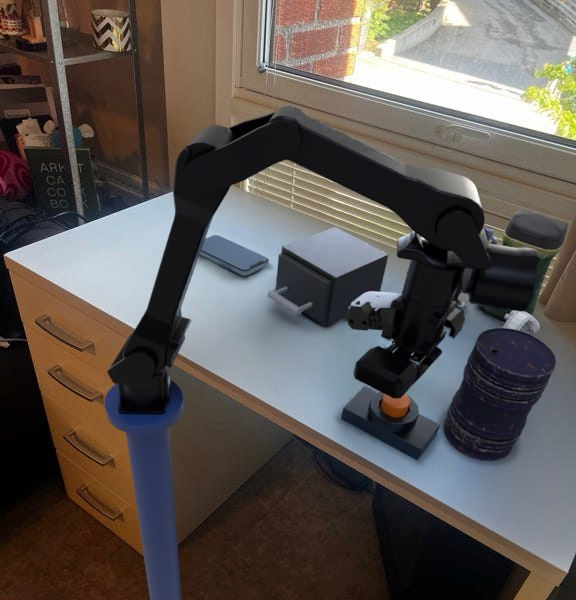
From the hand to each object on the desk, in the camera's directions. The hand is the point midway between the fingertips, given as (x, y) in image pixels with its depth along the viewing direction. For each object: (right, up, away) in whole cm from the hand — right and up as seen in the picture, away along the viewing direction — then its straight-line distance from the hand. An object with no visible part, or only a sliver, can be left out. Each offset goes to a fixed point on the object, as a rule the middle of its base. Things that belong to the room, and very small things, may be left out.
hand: (397, 394), depth 73 cm
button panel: (-1, -5, +4) cm, 6 cm away
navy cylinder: (+12, -6, +5) cm, 14 cm away
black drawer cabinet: (-7, +17, +28) cm, 33 cm away
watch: (+19, +3, +16) cm, 25 cm away
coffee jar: (+26, +15, +30) cm, 42 cm away
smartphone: (-26, +26, +36) cm, 51 cm away
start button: (0, -2, +2) cm, 3 cm away
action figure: (+15, +14, +28) cm, 35 cm away
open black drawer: (-10, +16, +25) cm, 32 cm away
